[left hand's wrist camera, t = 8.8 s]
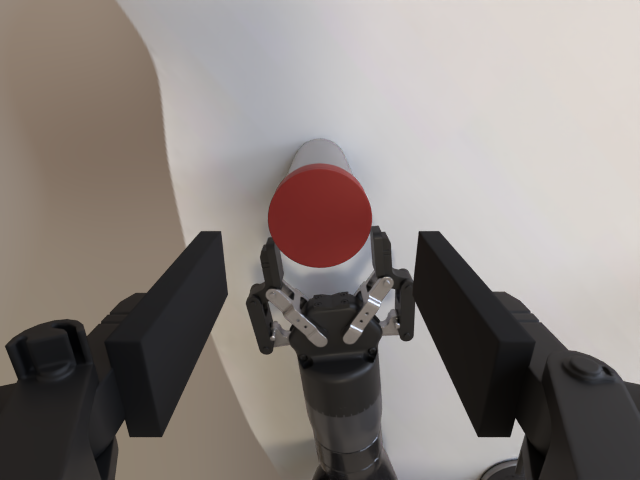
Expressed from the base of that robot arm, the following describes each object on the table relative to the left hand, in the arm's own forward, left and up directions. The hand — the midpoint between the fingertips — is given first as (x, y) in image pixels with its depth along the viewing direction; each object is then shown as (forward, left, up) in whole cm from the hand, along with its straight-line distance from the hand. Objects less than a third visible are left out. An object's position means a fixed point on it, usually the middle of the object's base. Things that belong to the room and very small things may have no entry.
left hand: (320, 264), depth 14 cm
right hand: (+4, -2, -15) cm, 15 cm away
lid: (0, 0, -6) cm, 6 cm away
